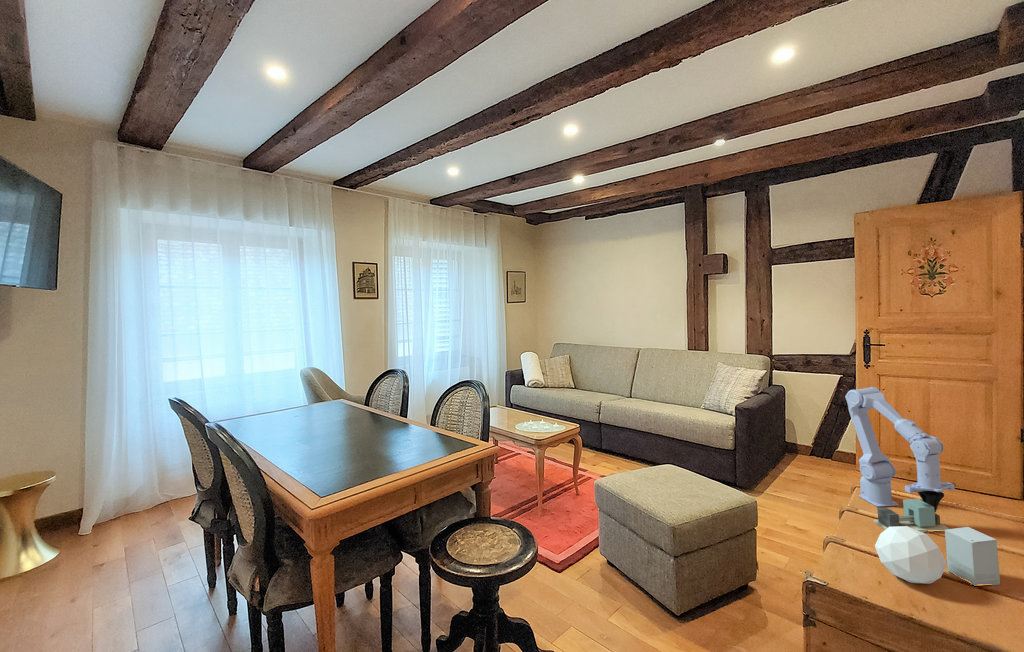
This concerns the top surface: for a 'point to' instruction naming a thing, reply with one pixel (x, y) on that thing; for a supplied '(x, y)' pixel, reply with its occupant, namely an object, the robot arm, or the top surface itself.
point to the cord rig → (903, 521)
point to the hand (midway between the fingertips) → (931, 511)
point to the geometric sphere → (910, 555)
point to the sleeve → (919, 512)
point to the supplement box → (972, 556)
